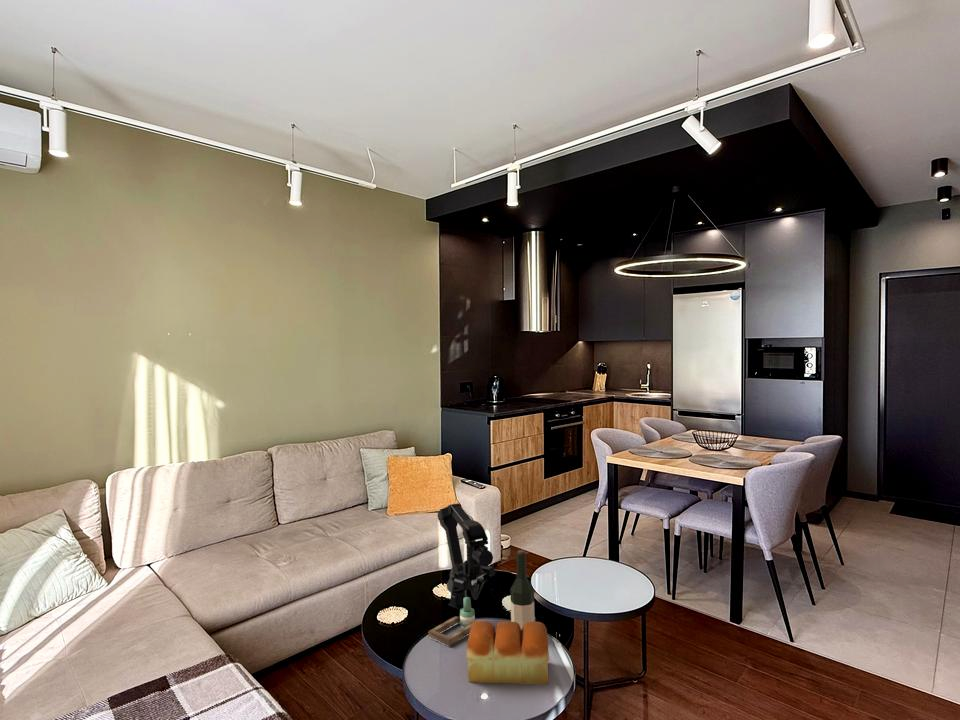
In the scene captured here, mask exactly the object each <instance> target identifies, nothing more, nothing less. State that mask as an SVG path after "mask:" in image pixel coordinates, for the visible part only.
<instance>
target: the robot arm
mask: <svg viewBox="0 0 960 720" xmlns="http://www.w3.org/2000/svg"><path fill="white" fill-rule="evenodd" d="M437 519H438V521H439V524H440V526H441V527H442V528H443V530H444V532H445V536H446V540H447V541H446V542H447V546H448V552H449V558H450V561H451V562H450V563H451V568H450V572H449V579H448V581H447V583H446V589H447V591H449V593H450V602H449V603H448V604H447V605H448V606H449V607H451V608H454V609H457V610H461V609H463V608H464V602H463V598H465V597H468V590H469V591H470V593H471V596H472V599H473V600H475V601H477V600H478V597H479V596H480V594H481V590H482V589H483V587H484V585H485V583H486V582H487V579H486V578H484V576H485V575H488V576H489V577H493V576H495V575H496V569H495V568H494V566H492V565H491V564H492V563H493V559H494V555H493V553H492V552H491V550H489V548H488V546H486V545H489V541H488V539H489V538H488V536H487V533H486V530H485V528H484V526H483V525H482V524H481V523H480V522H479V521H478V520H477V521H476V520H473V519H472V518H471V517H470V515H468V513H467V512H466V511H465V509H464V508H463V507H462V504H461V503H451V504H448V505H447V506H445V507H443V508H440V509H439V511H438V512H437ZM458 525H459V526H460V528H461V530H462V536H463V539H464V544H466V560H463V556H462V555H463V554H462V549H461V544H460V540H459V534H458V529H457V527H458Z"/></svg>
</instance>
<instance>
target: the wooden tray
mask: <svg viewBox="0 0 960 720" xmlns="http://www.w3.org/2000/svg"><path fill="white" fill-rule="evenodd" d="M456 623H459V624H460V616H456V615H455V616H454V617H451V618H449V619H447V620H446V621H444V622H443V623H440V624H439V625H437V626H435V627H434V628H432V629H429V630H428V632H427V634H428V638H429V637H431V638H433V639H436V640H438V641H440V642H441V643H444V644H445V645H448V646H450V645H452V644H453V643H455V642H457V641H458V640H459V639H461V638H462V637H464V636H466V635H467V634H469V633H470V629H471V626H472V623H471V624H470V625H468V626H466V627H464V628H461V629H460V630H458V631H456V632H454V633H453V634H451V635H449V636H448V635H445V634H444V633H442V634H441V633H440V632H442V631H444V630H446V629H447V628H449V627H450V626H453V625H454V624H456ZM458 642H459V641H458ZM458 642H457V643H458ZM455 644H456V643H455ZM445 645H444V646H445ZM452 646H453V645H452ZM450 647H451V646H450Z"/></svg>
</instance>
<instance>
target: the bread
mask: <svg viewBox="0 0 960 720" xmlns="http://www.w3.org/2000/svg"><path fill="white" fill-rule="evenodd" d="M548 640H549V639H548V629H547V626H546V625H545V624H544V623H543V622H540V621H535V622H527V623H525V624H524V625H523V627H522V637H521V628H520V625H519V624H518V623H517V622H511V621H499V622H498V623H497V624H496V627H495V625H494V624H493V622H490V621H488V620H475V622H474V623H472V626H471V629H470V634H469V635H468V639H467V644H466V659H467V663H468V664H467V667H468V668H467V669H468V671H467V672H468V674H467V675H468V683H488V684H489V683H492V684H493V683H494V684H495V683H496V684H522V685H523V684H527V685H528V684H529V685H530V684H531V685H549V663H548V662H549V661H550V653H549V641H548Z"/></svg>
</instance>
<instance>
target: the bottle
mask: <svg viewBox="0 0 960 720" xmlns="http://www.w3.org/2000/svg"><path fill="white" fill-rule="evenodd" d="M463 602H464V608H462V609H459V624H460V625H461V626H463V627H466V626H468V625H470V624H471V623H474V622H475V621H476V617H475V615H476V613H475V612H476V611H475V609H474V608H472V602H471V597H469V596H467V597H465V598H463Z"/></svg>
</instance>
